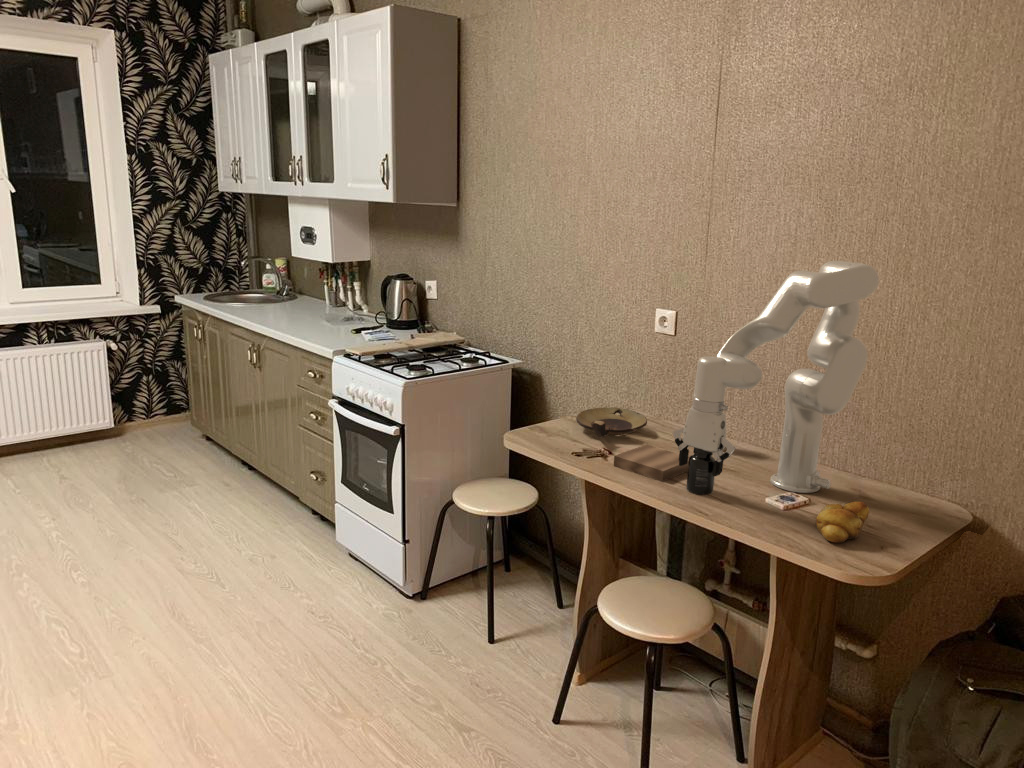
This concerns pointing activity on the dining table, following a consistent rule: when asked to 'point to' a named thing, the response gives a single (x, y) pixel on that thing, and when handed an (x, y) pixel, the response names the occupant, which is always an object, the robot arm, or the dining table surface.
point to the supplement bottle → (700, 472)
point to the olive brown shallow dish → (611, 421)
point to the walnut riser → (651, 462)
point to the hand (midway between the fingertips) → (699, 469)
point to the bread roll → (842, 521)
